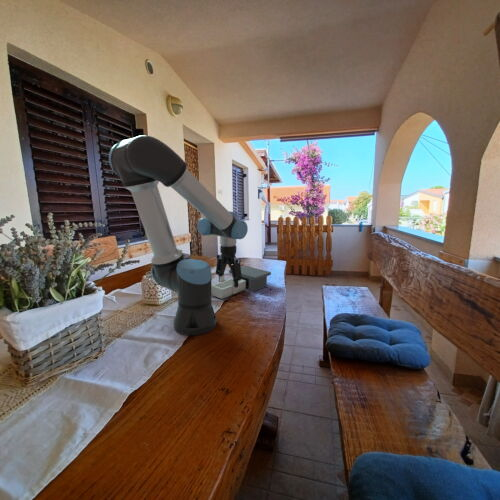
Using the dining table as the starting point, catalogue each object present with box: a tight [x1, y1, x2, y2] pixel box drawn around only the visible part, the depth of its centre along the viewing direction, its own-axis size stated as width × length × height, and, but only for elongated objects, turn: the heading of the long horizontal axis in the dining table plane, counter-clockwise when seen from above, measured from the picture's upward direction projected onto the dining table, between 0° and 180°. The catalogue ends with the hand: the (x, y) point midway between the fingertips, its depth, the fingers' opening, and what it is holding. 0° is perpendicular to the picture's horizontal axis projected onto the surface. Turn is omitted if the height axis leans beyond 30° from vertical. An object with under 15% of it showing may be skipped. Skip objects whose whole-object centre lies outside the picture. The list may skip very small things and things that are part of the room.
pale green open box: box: [211, 277, 247, 300], centre depth 122 cm, size 16×8×4 cm, turn 140°
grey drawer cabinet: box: [228, 265, 272, 293], centre depth 134 cm, size 13×18×8 cm
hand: (228, 290), depth 123 cm, fingers closed on pale green open box, 8 cm apart
